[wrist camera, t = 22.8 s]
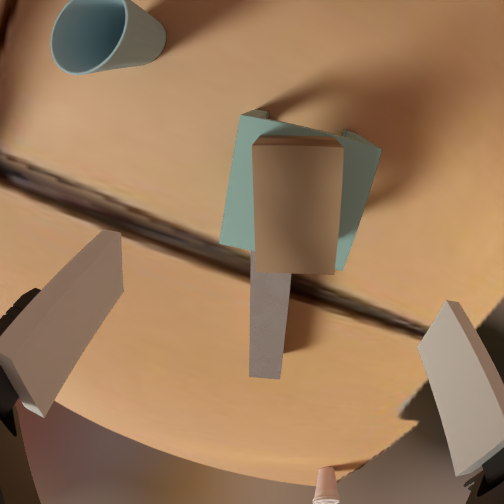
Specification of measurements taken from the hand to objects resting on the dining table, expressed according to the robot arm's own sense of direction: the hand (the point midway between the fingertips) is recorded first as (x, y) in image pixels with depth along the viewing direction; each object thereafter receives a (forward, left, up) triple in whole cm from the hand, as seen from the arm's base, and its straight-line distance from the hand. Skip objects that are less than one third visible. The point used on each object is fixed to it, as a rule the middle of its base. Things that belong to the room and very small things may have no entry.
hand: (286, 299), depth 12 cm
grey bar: (+1, -14, -22) cm, 26 cm away
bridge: (0, 0, -22) cm, 22 cm away
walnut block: (0, 0, -12) cm, 12 cm away
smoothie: (+26, -65, -22) cm, 74 cm away
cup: (-18, +11, -22) cm, 30 cm away
